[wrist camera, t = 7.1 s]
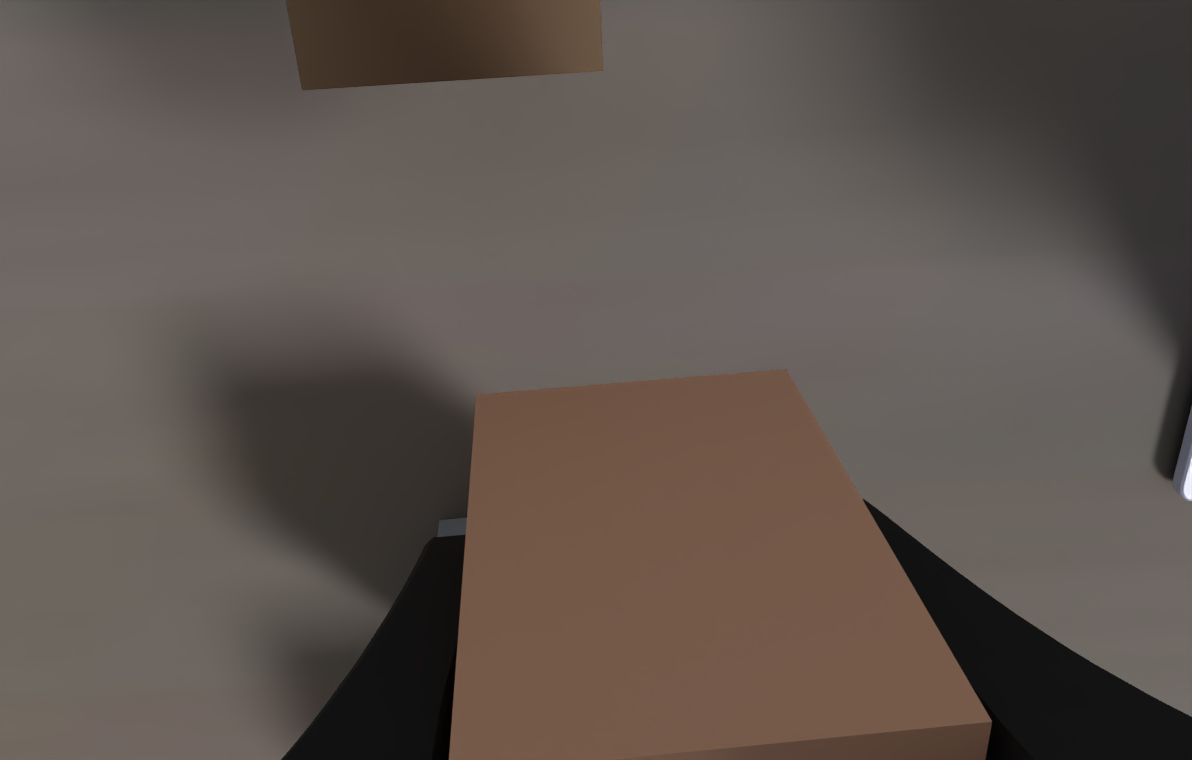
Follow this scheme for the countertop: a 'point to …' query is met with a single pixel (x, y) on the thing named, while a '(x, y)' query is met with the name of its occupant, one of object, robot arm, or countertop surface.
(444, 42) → the walnut block
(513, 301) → the countertop surface
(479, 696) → the terracotta block
